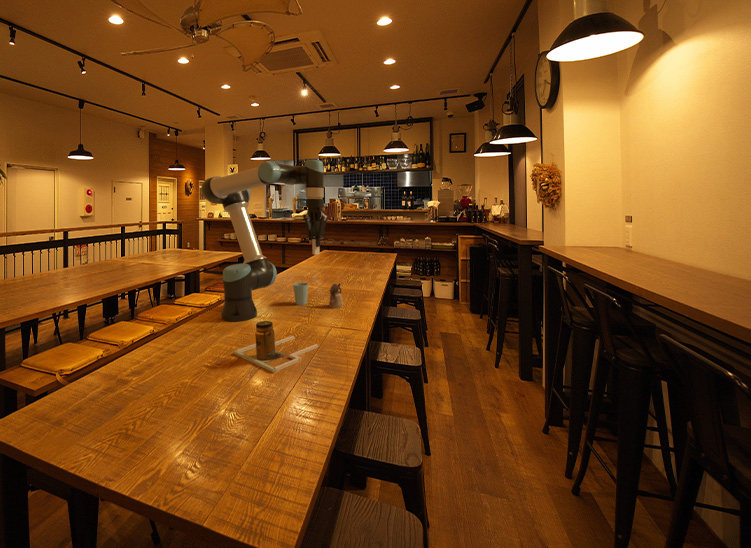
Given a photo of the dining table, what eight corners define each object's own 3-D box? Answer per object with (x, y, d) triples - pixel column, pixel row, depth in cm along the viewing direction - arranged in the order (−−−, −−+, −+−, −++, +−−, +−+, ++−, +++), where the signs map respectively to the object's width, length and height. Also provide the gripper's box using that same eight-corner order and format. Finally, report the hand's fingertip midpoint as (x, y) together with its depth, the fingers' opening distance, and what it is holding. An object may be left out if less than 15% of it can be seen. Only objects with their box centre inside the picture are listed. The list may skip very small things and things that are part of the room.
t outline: (233, 353, 120) (233, 351, 119) (286, 335, 137) (286, 333, 137) (273, 372, 106) (273, 369, 106) (325, 350, 123) (325, 347, 123)
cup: (310, 304, 180) (310, 285, 178) (295, 306, 177) (294, 286, 175) (307, 301, 187) (306, 282, 185) (292, 302, 184) (291, 283, 182)
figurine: (329, 304, 181) (328, 281, 179) (343, 304, 182) (342, 281, 179) (328, 308, 174) (328, 284, 172) (342, 308, 174) (342, 284, 172)
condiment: (251, 357, 117) (249, 322, 115) (273, 349, 124) (272, 317, 121) (263, 363, 113) (261, 328, 110) (285, 355, 119) (284, 321, 117)
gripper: (332, 198, 146) (333, 254, 151) (311, 198, 154) (312, 252, 159) (319, 198, 141) (320, 256, 145) (297, 198, 148) (299, 253, 153)
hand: (316, 254), depth 152 cm, fingers closed
